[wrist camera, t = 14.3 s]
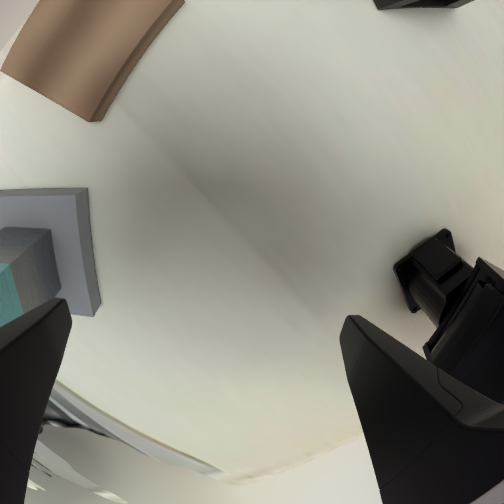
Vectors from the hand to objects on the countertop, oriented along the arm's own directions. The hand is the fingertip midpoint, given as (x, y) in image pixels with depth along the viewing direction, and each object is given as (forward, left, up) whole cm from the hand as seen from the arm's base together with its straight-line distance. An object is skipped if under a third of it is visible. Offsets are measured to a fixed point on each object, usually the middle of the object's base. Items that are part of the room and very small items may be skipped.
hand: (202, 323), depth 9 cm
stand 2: (+6, +14, -13) cm, 20 cm away
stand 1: (+16, 0, -13) cm, 21 cm away
